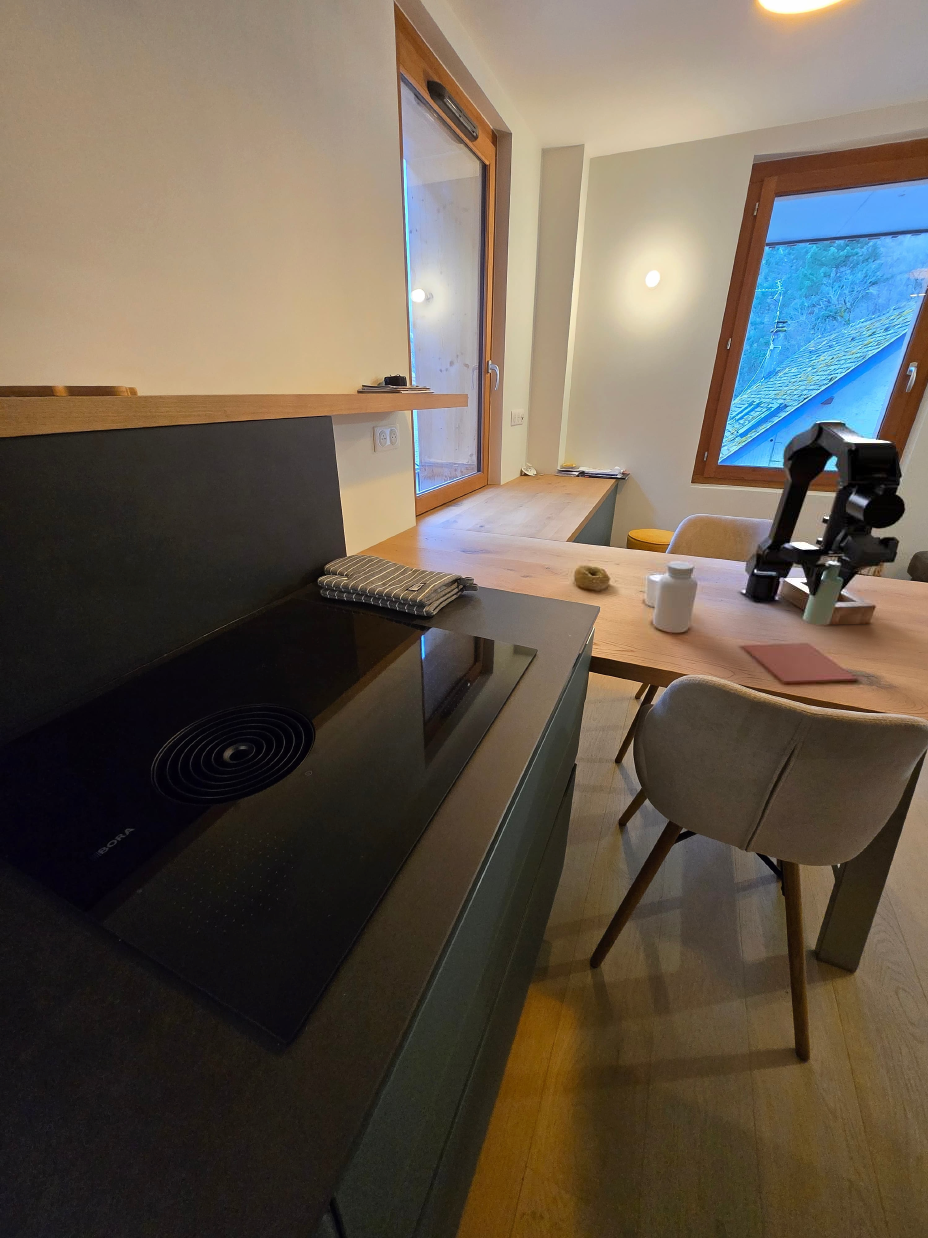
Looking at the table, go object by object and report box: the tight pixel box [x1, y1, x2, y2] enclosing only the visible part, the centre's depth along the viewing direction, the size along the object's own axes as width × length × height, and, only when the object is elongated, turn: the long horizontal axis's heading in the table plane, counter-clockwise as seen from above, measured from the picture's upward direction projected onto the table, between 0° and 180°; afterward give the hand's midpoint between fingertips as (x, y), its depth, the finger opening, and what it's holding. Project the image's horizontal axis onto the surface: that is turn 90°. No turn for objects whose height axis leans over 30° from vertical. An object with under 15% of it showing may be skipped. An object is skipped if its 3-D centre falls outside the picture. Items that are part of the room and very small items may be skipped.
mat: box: [742, 642, 858, 684], centre depth 98 cm, size 14×14×1 cm
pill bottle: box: [652, 560, 698, 634], centre depth 111 cm, size 8×8×15 cm
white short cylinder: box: [644, 572, 665, 608], centre depth 125 cm, size 7×7×7 cm
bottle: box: [802, 560, 843, 626], centre depth 95 cm, size 4×4×12 cm
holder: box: [778, 577, 877, 626], centre depth 121 cm, size 10×18×4 cm, turn 2°
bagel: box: [573, 564, 611, 592], centre depth 137 cm, size 10×11×5 cm
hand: (823, 594), depth 96 cm, fingers closed on bottle, 4 cm apart
